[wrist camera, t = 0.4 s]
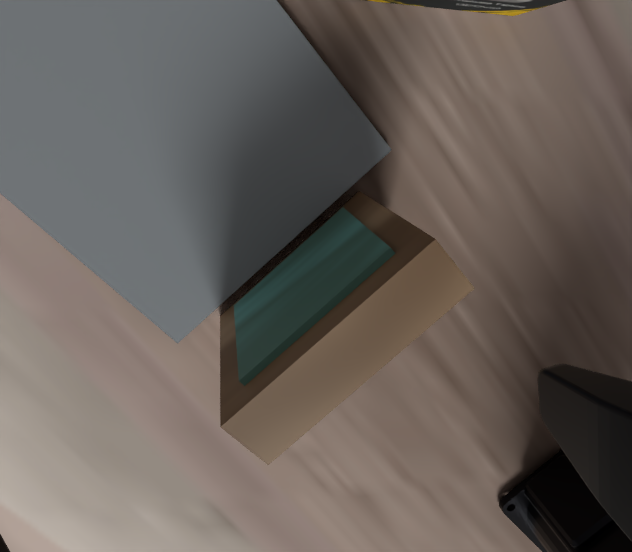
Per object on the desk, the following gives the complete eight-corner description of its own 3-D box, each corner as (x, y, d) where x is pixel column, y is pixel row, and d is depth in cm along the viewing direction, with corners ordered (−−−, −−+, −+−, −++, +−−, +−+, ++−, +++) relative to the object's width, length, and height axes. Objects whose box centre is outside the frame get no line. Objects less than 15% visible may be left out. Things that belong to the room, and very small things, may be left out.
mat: (388, 149, 21) (391, 149, 20) (178, 339, 22) (177, 343, 21) (122, -197, 16) (119, -204, 15) (-135, 72, 17) (-143, 72, 16)
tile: (387, 224, 22) (474, 288, 14) (252, 344, 22) (268, 465, 15) (355, 186, 21) (430, 232, 13) (216, 311, 22) (214, 422, 14)
